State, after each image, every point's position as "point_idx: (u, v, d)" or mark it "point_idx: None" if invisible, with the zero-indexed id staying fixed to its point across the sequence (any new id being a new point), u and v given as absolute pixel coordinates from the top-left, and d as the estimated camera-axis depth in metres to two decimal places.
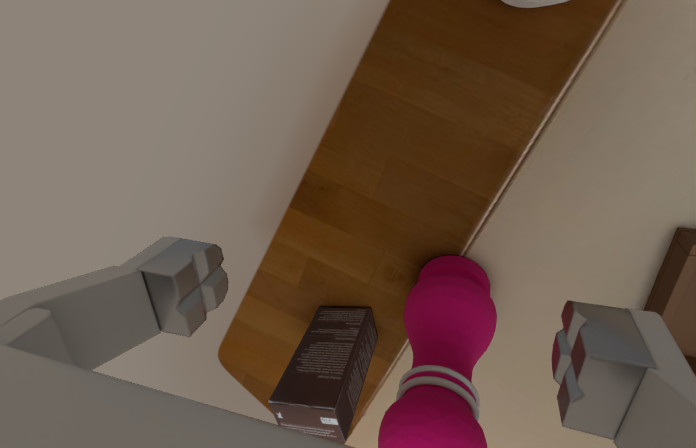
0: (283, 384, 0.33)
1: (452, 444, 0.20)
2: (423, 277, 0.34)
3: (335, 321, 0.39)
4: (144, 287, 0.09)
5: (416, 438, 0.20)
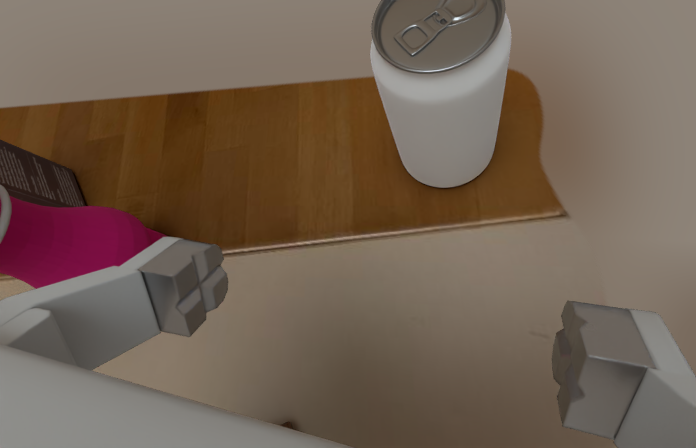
0: None
1: None
2: None
3: (56, 179, 0.34)
4: (144, 287, 0.09)
5: None
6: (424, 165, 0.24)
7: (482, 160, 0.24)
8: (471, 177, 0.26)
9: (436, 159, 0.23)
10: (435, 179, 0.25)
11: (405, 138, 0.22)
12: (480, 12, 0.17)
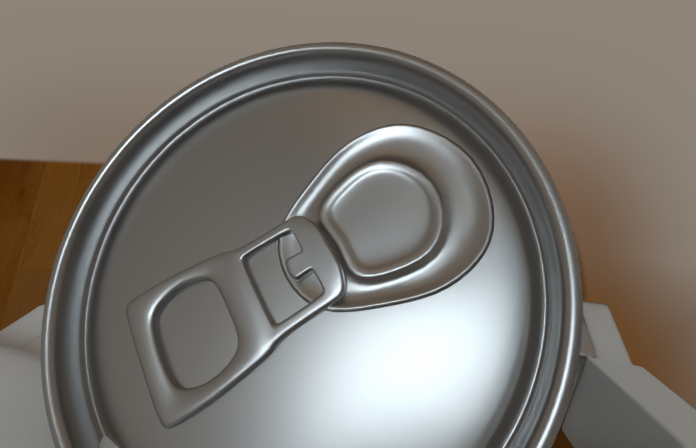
0: None
1: None
2: None
3: None
4: None
5: None
6: None
7: None
8: None
9: None
10: None
11: None
12: (465, 272, 0.04)
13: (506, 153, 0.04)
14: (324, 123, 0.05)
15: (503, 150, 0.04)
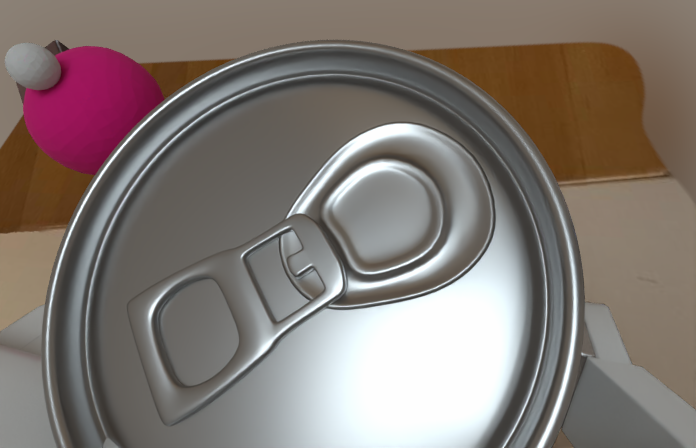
0: None
1: (126, 89, 0.17)
2: None
3: None
4: None
5: (117, 58, 0.18)
6: None
7: None
8: None
9: None
10: None
11: None
12: (466, 270, 0.04)
13: (507, 150, 0.04)
14: (326, 121, 0.05)
15: (504, 147, 0.04)
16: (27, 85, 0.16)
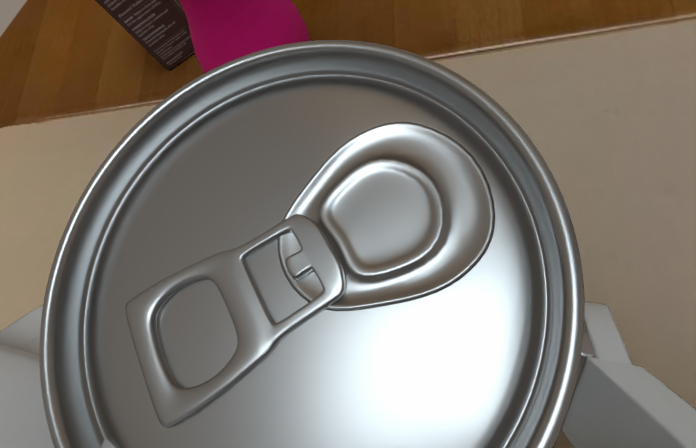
0: None
1: None
2: None
3: None
4: None
5: None
6: None
7: None
8: None
9: None
10: None
11: None
12: (465, 271, 0.04)
13: (507, 151, 0.04)
14: (325, 122, 0.05)
15: (504, 148, 0.04)
16: None
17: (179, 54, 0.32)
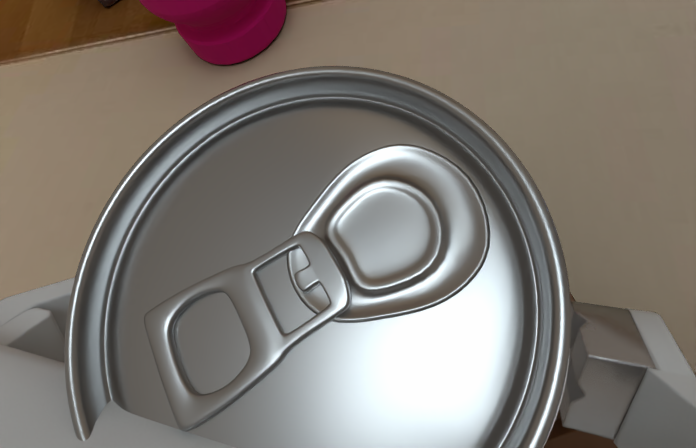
0: None
1: None
2: None
3: None
4: None
5: None
6: None
7: None
8: None
9: None
10: None
11: None
12: (462, 286, 0.04)
13: (501, 173, 0.04)
14: (330, 142, 0.05)
15: (498, 171, 0.04)
16: None
17: None
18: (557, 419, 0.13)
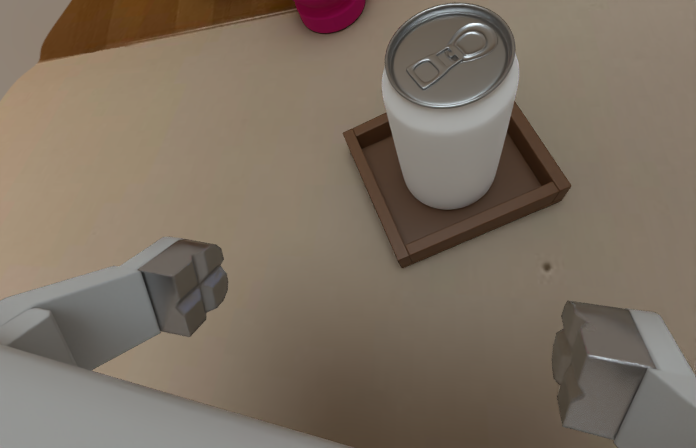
0: None
1: None
2: None
3: None
4: (144, 287, 0.09)
5: None
6: (427, 188, 0.25)
7: (483, 186, 0.25)
8: (471, 201, 0.26)
9: (440, 184, 0.23)
10: (437, 201, 0.26)
11: (410, 163, 0.22)
12: (491, 51, 0.17)
13: (500, 26, 0.17)
14: (453, 24, 0.18)
15: (499, 25, 0.17)
16: None
17: None
18: None
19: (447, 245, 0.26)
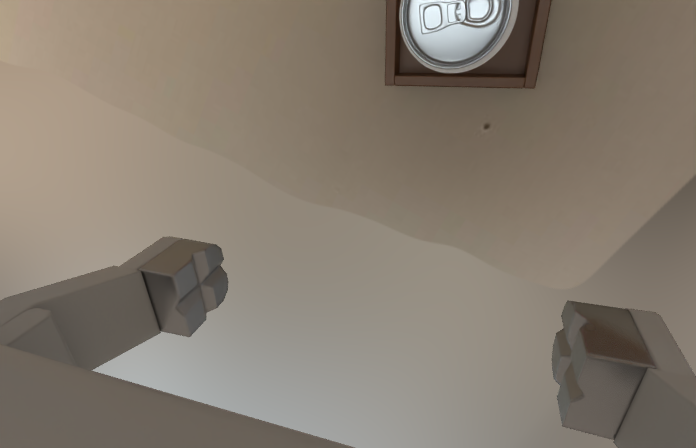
0: None
1: None
2: None
3: None
4: (144, 287, 0.09)
5: None
6: None
7: None
8: None
9: None
10: None
11: None
12: (486, 26, 0.21)
13: (508, 5, 0.20)
14: None
15: (507, 4, 0.20)
16: None
17: None
18: (508, 73, 0.32)
19: None
